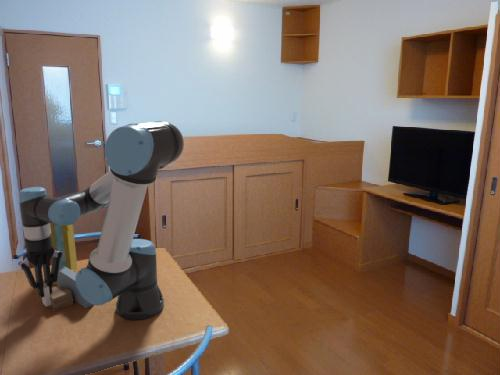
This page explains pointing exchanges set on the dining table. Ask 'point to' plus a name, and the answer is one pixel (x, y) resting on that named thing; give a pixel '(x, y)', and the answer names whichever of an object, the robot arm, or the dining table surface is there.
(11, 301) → the dining table surface
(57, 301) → the brown rectangular block
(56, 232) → the yellow rounded trough
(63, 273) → the slate board
